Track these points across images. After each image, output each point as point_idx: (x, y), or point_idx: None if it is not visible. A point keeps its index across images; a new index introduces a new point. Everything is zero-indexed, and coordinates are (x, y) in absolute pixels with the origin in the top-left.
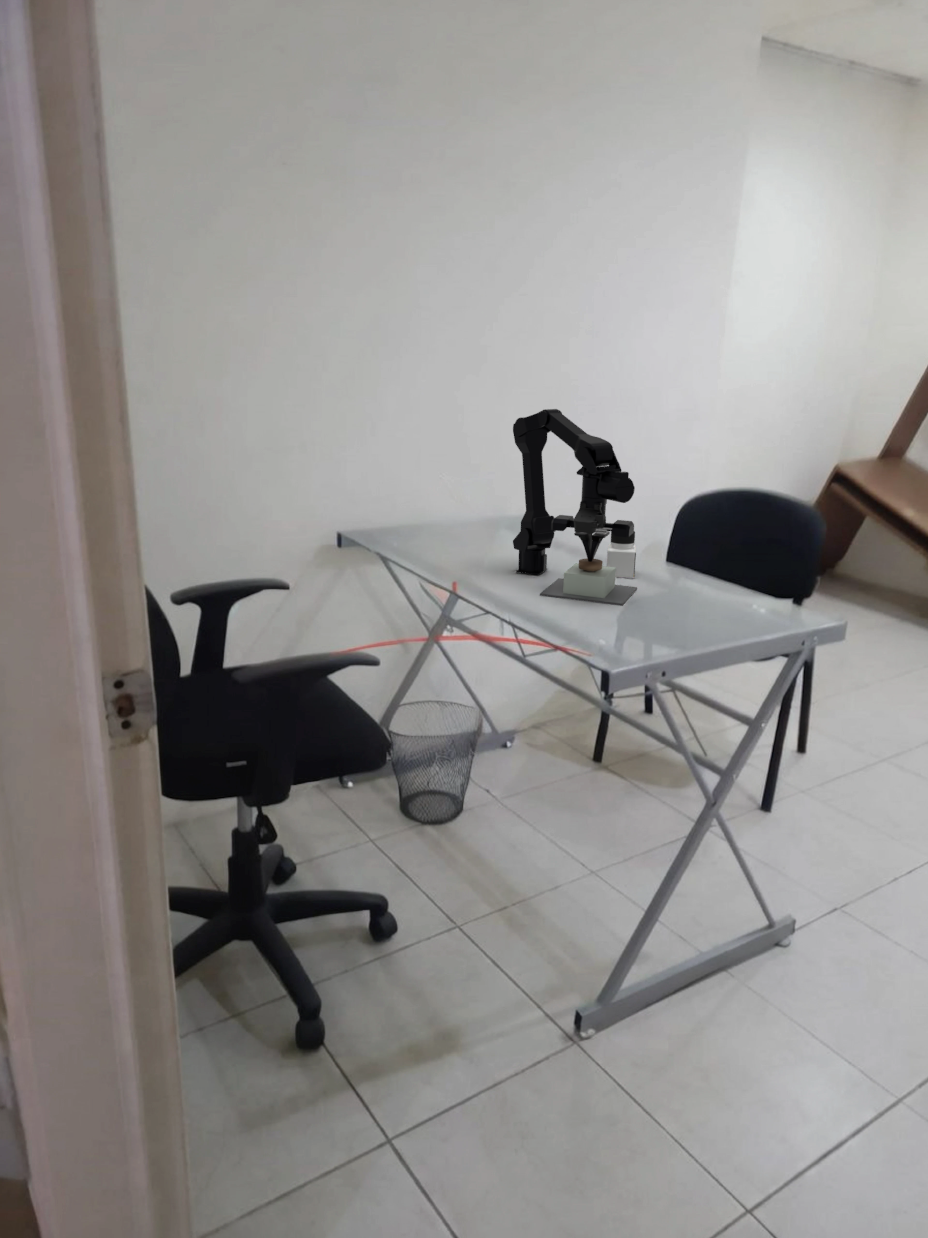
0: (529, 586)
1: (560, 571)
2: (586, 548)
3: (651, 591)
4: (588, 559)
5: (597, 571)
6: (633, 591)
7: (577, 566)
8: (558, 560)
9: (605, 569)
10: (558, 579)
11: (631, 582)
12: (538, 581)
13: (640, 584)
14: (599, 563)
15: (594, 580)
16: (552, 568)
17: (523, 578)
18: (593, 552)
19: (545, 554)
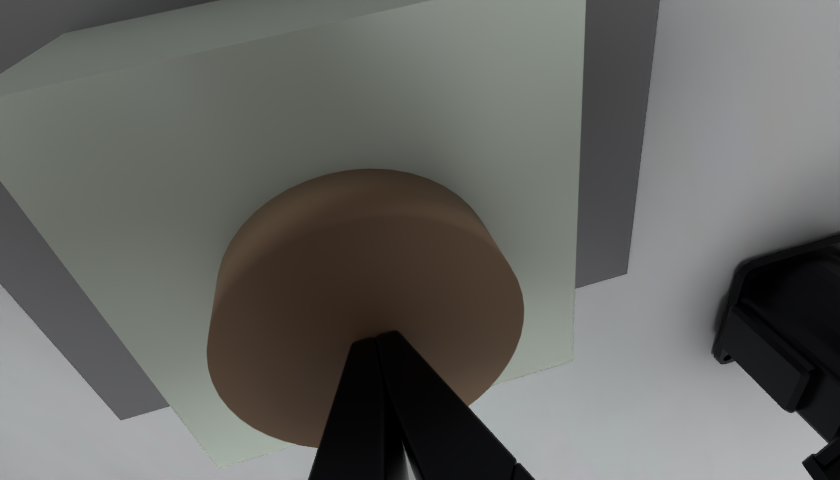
0: (780, 23)
1: (643, 379)
2: (477, 473)
3: (14, 429)
4: (396, 342)
5: None
6: (55, 345)
7: (527, 299)
8: (681, 467)
9: None
10: (621, 251)
11: (247, 464)
12: (729, 171)
13: (182, 471)
14: (210, 344)
15: (140, 52)
16: (687, 388)
17: (821, 168)
18: (330, 460)
19: (796, 405)
